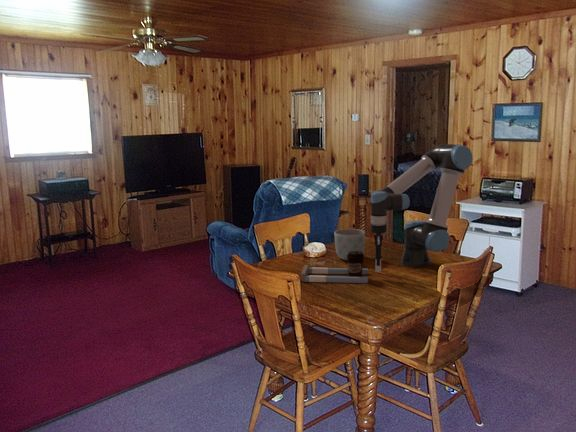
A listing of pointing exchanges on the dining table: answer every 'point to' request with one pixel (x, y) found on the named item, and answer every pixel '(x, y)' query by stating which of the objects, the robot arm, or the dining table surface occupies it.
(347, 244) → the planter
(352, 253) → the coffee cup
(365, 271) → the beam slot
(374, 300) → the dining table surface
